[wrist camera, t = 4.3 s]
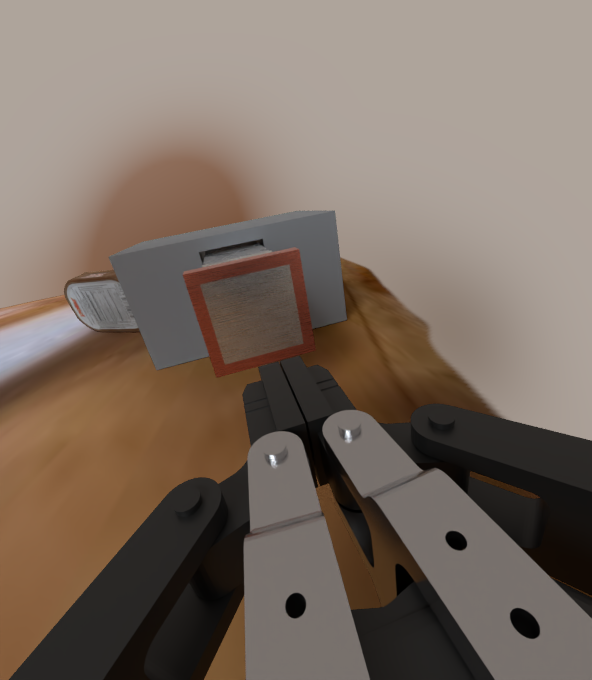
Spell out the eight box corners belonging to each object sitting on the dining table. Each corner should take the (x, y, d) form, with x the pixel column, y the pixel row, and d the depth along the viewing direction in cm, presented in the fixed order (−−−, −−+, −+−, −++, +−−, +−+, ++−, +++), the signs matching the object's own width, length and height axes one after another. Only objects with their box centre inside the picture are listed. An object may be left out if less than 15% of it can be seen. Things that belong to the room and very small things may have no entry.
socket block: (346, 319, 33) (334, 210, 29) (156, 370, 30) (108, 256, 25) (309, 290, 46) (297, 210, 41) (172, 323, 43) (142, 241, 38)
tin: (170, 324, 43) (148, 264, 39) (154, 334, 40) (128, 270, 36) (98, 326, 48) (72, 273, 45) (79, 334, 46) (50, 279, 42)
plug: (315, 350, 20) (299, 249, 17) (216, 377, 19) (182, 274, 16) (272, 291, 34) (259, 231, 31) (214, 305, 33) (196, 245, 30)
